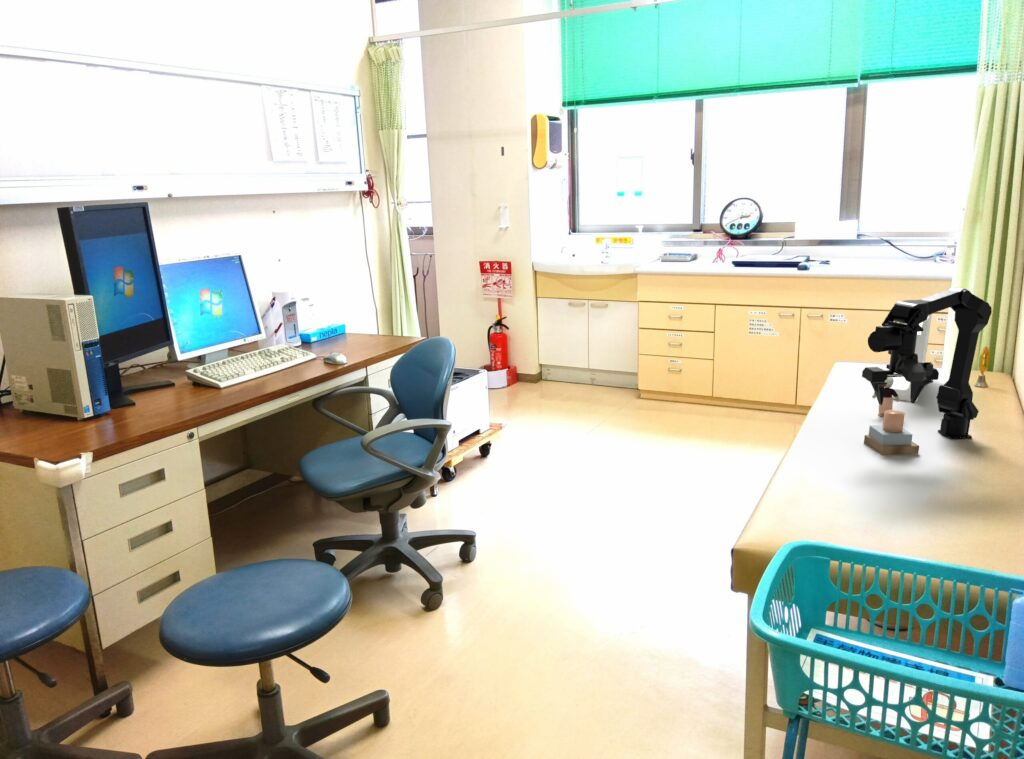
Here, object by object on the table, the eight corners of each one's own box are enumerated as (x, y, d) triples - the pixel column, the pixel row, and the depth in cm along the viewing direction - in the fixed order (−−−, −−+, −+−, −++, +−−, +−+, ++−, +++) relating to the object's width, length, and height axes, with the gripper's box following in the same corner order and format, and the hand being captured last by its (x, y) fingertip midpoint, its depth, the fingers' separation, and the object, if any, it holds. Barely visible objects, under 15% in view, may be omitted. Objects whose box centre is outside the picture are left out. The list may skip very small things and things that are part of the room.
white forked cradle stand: (916, 401, 253) (927, 319, 245) (890, 398, 257) (900, 317, 249) (923, 377, 282) (933, 303, 274) (899, 374, 286) (908, 301, 278)
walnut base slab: (897, 443, 216) (898, 433, 215) (917, 456, 207) (919, 445, 206) (863, 444, 216) (864, 434, 215) (882, 457, 206) (883, 447, 205)
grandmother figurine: (896, 414, 240) (901, 376, 236) (897, 418, 236) (902, 379, 233) (869, 412, 242) (874, 374, 239) (870, 416, 239) (875, 377, 235)
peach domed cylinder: (895, 426, 212) (897, 409, 211) (906, 432, 207) (908, 414, 206) (878, 427, 212) (880, 410, 211) (889, 433, 207) (891, 415, 206)
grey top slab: (896, 434, 214) (897, 424, 214) (911, 444, 207) (912, 434, 206) (868, 435, 214) (869, 425, 214) (881, 445, 207) (883, 434, 206)
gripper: (886, 356, 195) (879, 414, 200) (955, 354, 197) (947, 411, 201) (864, 347, 206) (858, 401, 210) (929, 344, 208) (922, 399, 212)
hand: (896, 403), depth 208 cm, fingers open, 9 cm apart
